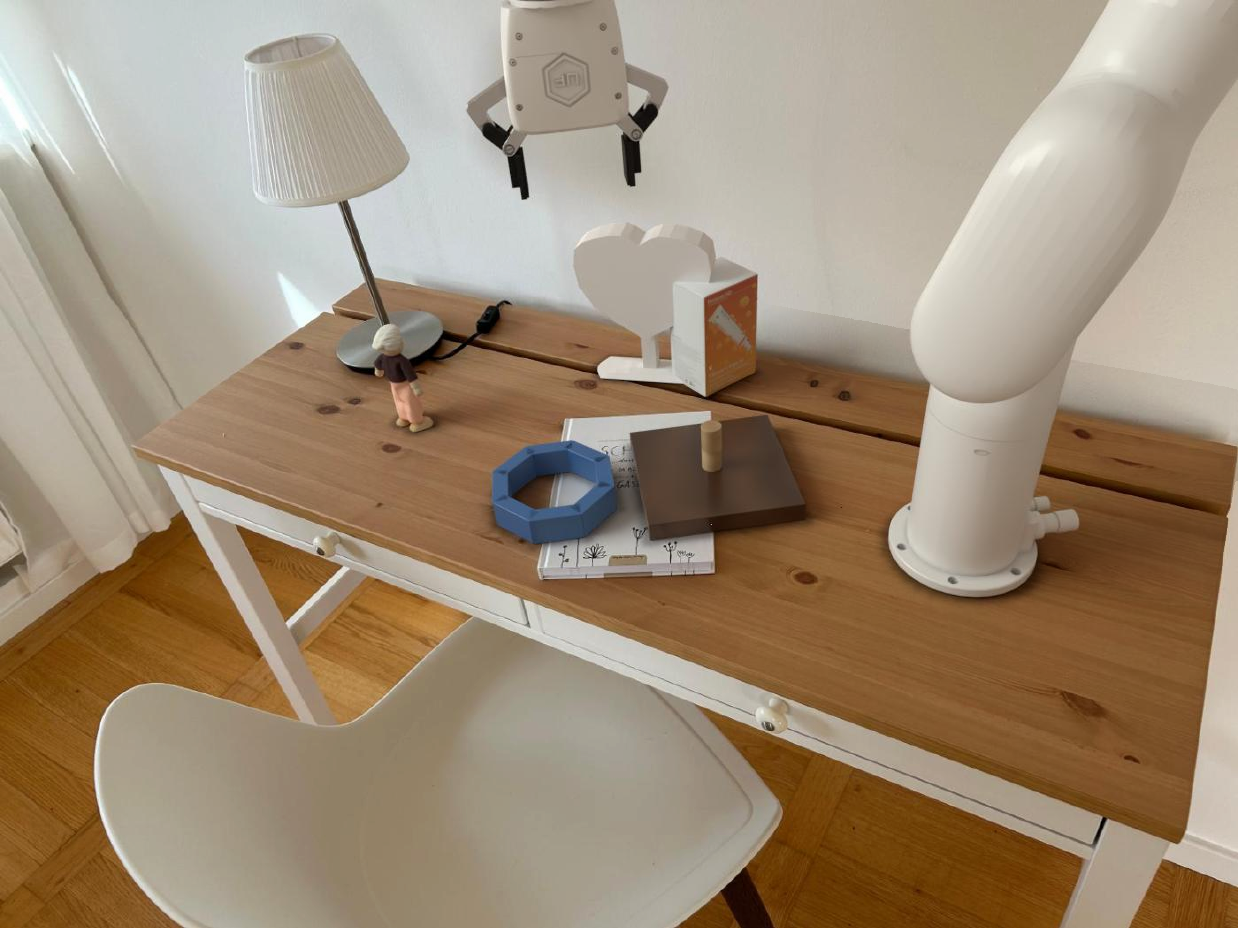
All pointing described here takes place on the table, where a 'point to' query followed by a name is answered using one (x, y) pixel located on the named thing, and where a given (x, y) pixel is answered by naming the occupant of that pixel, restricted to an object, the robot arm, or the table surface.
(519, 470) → the ring
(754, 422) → the platform
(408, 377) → the grandmother figurine
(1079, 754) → the table surface
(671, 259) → the heart sculpture
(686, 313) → the small box
